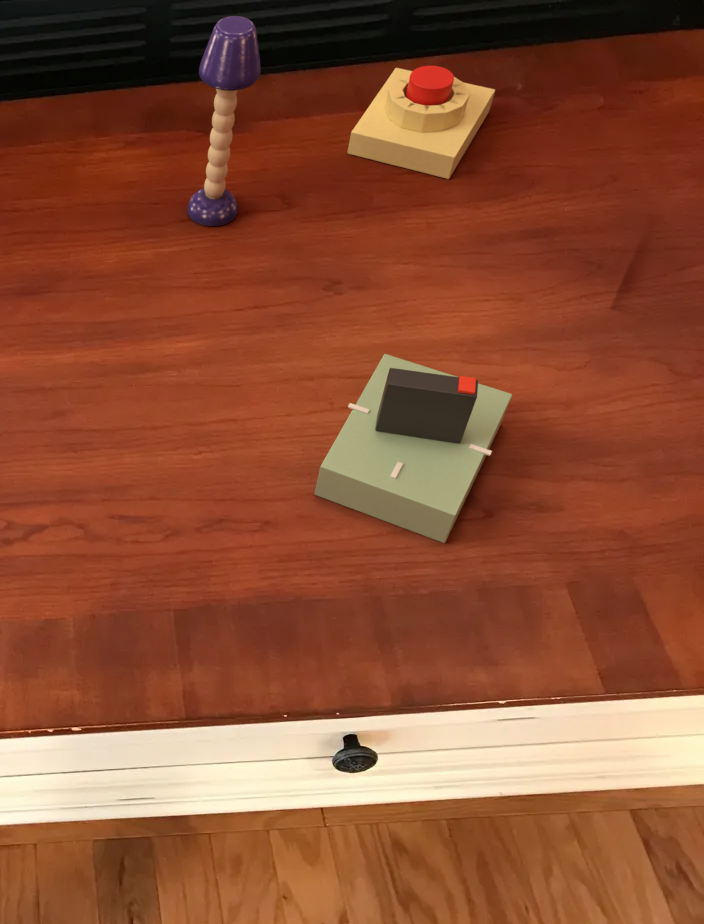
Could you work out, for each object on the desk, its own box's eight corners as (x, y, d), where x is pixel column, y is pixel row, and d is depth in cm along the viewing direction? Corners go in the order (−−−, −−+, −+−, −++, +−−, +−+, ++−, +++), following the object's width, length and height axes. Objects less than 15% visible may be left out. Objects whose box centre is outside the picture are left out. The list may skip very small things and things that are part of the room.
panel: (372, 381, 84) (380, 349, 82) (506, 425, 81) (518, 393, 78) (309, 492, 79) (315, 462, 76) (450, 545, 75) (461, 516, 72)
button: (414, 80, 100) (418, 61, 99) (455, 89, 99) (460, 70, 98) (399, 101, 99) (404, 83, 97) (441, 111, 97) (446, 92, 96)
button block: (391, 89, 106) (399, 48, 103) (489, 111, 103) (501, 70, 100) (347, 153, 101) (354, 113, 98) (448, 179, 97) (460, 138, 94)
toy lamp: (225, 188, 100) (242, 1, 86) (255, 216, 97) (278, 28, 84) (177, 206, 99) (187, 21, 85) (207, 236, 96) (222, 49, 83)
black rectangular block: (374, 431, 77) (388, 381, 74) (377, 414, 78) (390, 364, 75) (460, 444, 76) (478, 394, 72) (461, 426, 77) (479, 376, 73)
